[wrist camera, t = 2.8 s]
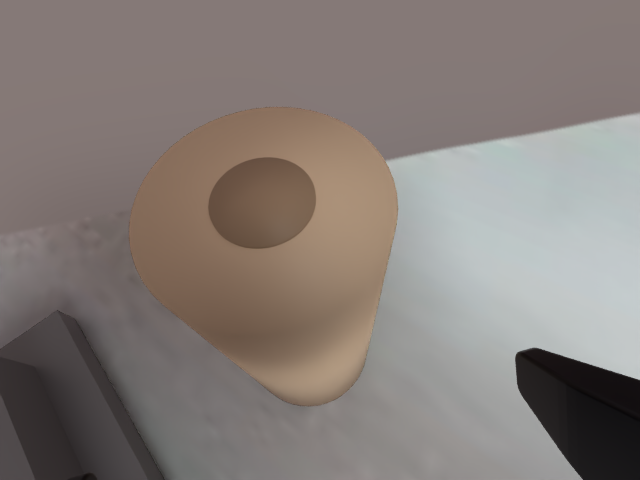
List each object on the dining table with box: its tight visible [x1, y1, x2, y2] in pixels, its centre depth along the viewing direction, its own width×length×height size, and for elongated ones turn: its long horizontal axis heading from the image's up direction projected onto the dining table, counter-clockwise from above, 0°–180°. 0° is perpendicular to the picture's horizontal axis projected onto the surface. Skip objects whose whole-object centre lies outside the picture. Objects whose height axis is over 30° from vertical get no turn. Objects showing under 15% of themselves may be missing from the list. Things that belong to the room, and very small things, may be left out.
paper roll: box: [129, 107, 398, 406], centre depth 14 cm, size 6×6×13 cm
